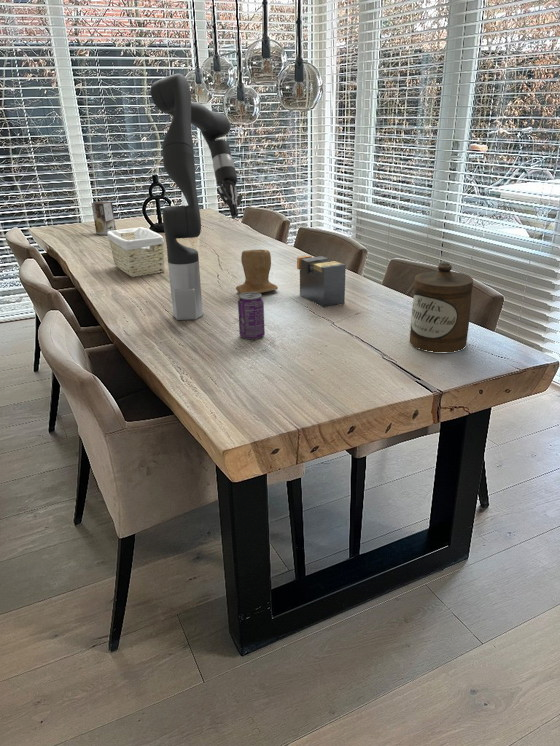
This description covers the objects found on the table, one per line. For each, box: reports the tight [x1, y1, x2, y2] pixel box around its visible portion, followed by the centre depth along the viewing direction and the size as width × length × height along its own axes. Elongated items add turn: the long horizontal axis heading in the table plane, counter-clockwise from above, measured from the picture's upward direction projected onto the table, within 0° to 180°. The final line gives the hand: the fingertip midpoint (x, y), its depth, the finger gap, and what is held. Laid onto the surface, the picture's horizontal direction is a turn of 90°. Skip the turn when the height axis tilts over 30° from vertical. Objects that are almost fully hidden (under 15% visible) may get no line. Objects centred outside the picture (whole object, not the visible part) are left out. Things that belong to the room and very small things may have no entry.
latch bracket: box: [299, 255, 347, 309], centre depth 189 cm, size 16×8×13 cm, turn 28°
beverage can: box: [237, 292, 266, 340], centre depth 160 cm, size 7×7×12 cm
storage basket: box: [107, 226, 166, 278], centre depth 230 cm, size 24×16×15 cm
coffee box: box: [91, 200, 117, 236], centre depth 300 cm, size 9×6×16 cm
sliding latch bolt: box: [296, 254, 314, 271], centre depth 190 cm, size 18×5×4 cm, turn 28°
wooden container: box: [409, 261, 474, 353], centre depth 150 cm, size 15×15×22 cm
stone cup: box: [235, 248, 279, 295], centre depth 198 cm, size 15×12×15 cm
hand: (234, 216), depth 201 cm, fingers closed
